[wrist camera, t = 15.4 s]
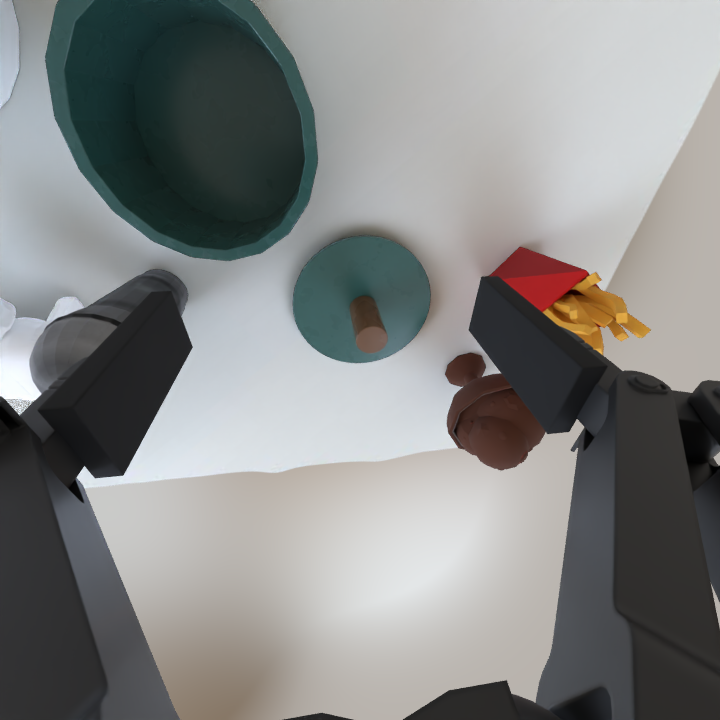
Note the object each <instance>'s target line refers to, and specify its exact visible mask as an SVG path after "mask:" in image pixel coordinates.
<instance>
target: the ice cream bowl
mask: <svg viewBox="0 0 720 720" xmlns="http://www.w3.org/2000/svg"><path fill="white" fill-rule="evenodd" d="M485 368H486V366H485V363H484V361H483V358H482V356H480V355H477V354H473V353H468V354H464V355H460V356H458V357H456V358H455V359H454V360H453V361H452V362H451V363H449V364H448V367H447V370H446V373H445V375H446V377H447V379H448V381H449V382H450V383H451V384H453V385H457V386H460V387H462V386H464V387H463V388H462V389H460V390H459V391H458V392H457V393H456V394H455V396H454V398H453V401H452V404H451V406H450V409H449V412H448V416H447V428H448V433H449V435H450V436H451V438H452V439H453V440H454V442H455V443H456V445H457V446H458V448H460V449H465V450H466V451H467V452H469V453H470V454H472V455H476V456H477V457H478V458H479V460H480V461H481V462H483V463H484V464H486V465H487V466H490V467H492V468H495V469H498V470H504V469H509V468H513V467H516V466H517V465H518V464H520V463H522V462H524V460H525V459H526V458H527V456H528V452H530V451H531V450H532V449H533V447H534V446H536V445H538V444H539V443H540V441H541V439H542V438H543V436H544V434H545V432H546V431H545V430H544V429H543V427H542V426H541V425H540V423H539V422H538V421H537V419H536V418H535V417H534V415H533V414H532V413H531V412H530V410H529V409H528V408H527V406H526V405H525V404H524V402H523V401H522V400H521V398H520V397H519V396H518V394H517V393H516V392H515V390H514V389H513V388H512V387H511V385H510V384H509V383H508V381H507V380H506V379H505V377H504V376H503V375H502V374H501V373H500V374H492V375H488V376H484V377H482V375H483V373H484V370H485Z"/></svg>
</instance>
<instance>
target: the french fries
mask: <svg viewBox="0 0 720 720" xmlns="http://www.w3.org/2000/svg"><path fill="white" fill-rule="evenodd" d="M490 276H498V277H500V278H501V279H502V280H503V281H505V282H506V283H507V284H508V285H509V286H511V287H512V288H513V289H514V290H516V291H517V292H518V293H519V294H520V295H522V296H523V297H524V298H525V299H527V300H528V301H529V302H530V303H531V304H533V305H534V306H535V307H536V308H538V309H539V310H540V311H541V312H542V313H544V314H545V315H546V316H547V317H549V318H550V319H551V320H552V321H553V322H555V323H556V324H557V325H558V326H561V327H563V328H565V329H567V330H570V331H572V332H574V333H575V334H577V335H578V336H579V337H580V338H582V339H583V340H584V341H585V343H588V344H589V345H590V346H592V347H593V350H597V351H598V352H599V353H600V354H602V355H603V348H604V346H603V340H602V335H601V330H600V328H599V327H603V328H605V327H606V326H608V327H609V328H610V330H611V331H612V333H613V335H614V336H615V337H616V338H617V339H618V340H620V341H623V340H624V339H626V338H628V335H627V334H626V332H625V331H624V330H623V328H622V327H621V326H620V325H619V324H621V325H622V326H624V327H625V328H626V329H628V330H629V331H630V332H632V333H633V334H634V335H636V336H637V337H638V338H643V337H644V336H645V335H646V334H647V333H648V332H649V331H651V330H650V329H649V328H648V327H646V326H645V325H644V324H642V323H641V322H639V321H638V320H637V319H635V318H634V317H632V316H631V315H630V314H628V313H627V308H626V304H625V303H624V301H623V299H622V298H620V297H618V296H616V295H614V294H611V293H608V292H605V291H602V290H601V289H600V288H599V287H598V286H597V284H596V283H598V282H600V281H601V278H600V277H599V275H598V274H597V273H596V272H595V273H593V274H591V275H589V273H588V272H587V271H586V270H584V269H581V268H578V267H575V266H572V265H570V264H567V263H564V262H561V261H559V260H556V259H553V258H550V257H547V256H545V255H542V254H539V253H536V252H533V251H531V250H528V249H525V248H522V247H519V248H518V249H517V250H516V251H515V252H514V253H513V254H512V255H511V256H510V257H509V258H508V259H507V260H506V261H504V262H503V263H502V264H501V265H500V266H499V267H498V268H497V269H496V270H495V271H494V272H493V273H492V274H491V275H490ZM618 323H619V324H618Z"/></svg>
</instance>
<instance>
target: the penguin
mask: <svg viewBox="0 0 720 720" xmlns="http://www.w3.org/2000/svg"><path fill="white" fill-rule="evenodd" d="M82 308H84V307H83V304H82V303H81V301H80V300H79V299H78V298H77V297H64V298H59V300H58V301H57V302H56V304H55V306H54V308H53V310H52V311H51V313H50V315H49V317H48V318H47V321H44V320H41V319H37V318H15V316H16V308H15V307H14V306H13V305H12V303H10V302H7V301H5V300H3V299H2V298H1V297H0V396H2V397H3V398H6V399H23V400H30V401H35V400H36V399H37V398H38V397H39V396H40V395H41V393H40V391H39V390H38V388H37V387H36V385H35V384H34V382H33V380H32V377H31V372H30V366H29V359H30V356H31V353H32V350H33V348H34V345H35V343H36V341H37V339H38V338H39V336H40V335H41V334H42V333H43V332H44V329H45V328H46V326H47V325H49V324H50V323H51V322H52V321H54V320H55V319H56V318H58V317H61V316H65V315H67V314H69V313H72V312H74V311H77V310H79V309H82Z"/></svg>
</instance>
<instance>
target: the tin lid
mask: <svg viewBox="0 0 720 720" xmlns="http://www.w3.org/2000/svg"><path fill="white" fill-rule="evenodd" d="M430 295H431V294H430V285H429V281H428V278H427V275H426V273H425V270H424V269H423V267H422V265H421V264H420V262H419V261H418V260H417V259H416V257H415V256H414V255H413V254H412V253H411V252H410V251H409V250H407V249H406V248H405V247H403V246H401V245H400V244H398V243H396V242H394V241H392V240H389V239H386V238H382V237H377V236H354V237H349V238H345V239H341V240H339V241H336V242H334V243H332V244H330V245H328V246H327V247H325V248H323V249H322V250H321V251H319V252H318V253H317V254H315V255H314V256H313V257H312V258H311V260H310V261H309V262H308V263H307V264H306V266H305V267H304V268H303V270H302V272H301V274H300V275H299V277H298V280H297V283H296V285H295V290H294V295H293V312H294V317H295V321H296V324H297V326H298V329H299V330H300V332H301V334H302V335H303V337H304V338H305V339H306V341H307V342H308V343H309V344H310V345H311V346H312V347H313V348H315V349H316V350H317V351H319V352H320V353H322V354H324V355H325V356H328V357H330V358H332V359H335V360H339V361H343V362H348V363H366V362H372V361H376V360H380V359H383V358H386V357H388V356H390V355H392V354H394V353H396V352H398V351H399V350H401V349H402V348H403V347H405V346H406V345H407V344H408V343H409V342H410V341H411V340H412V339H413V338H414V337H415V336H416V335H417V333H418V332H419V331H420V329H421V327H422V326H423V324H424V322H425V320H426V317H427V314H428V311H429V306H430Z"/></svg>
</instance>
